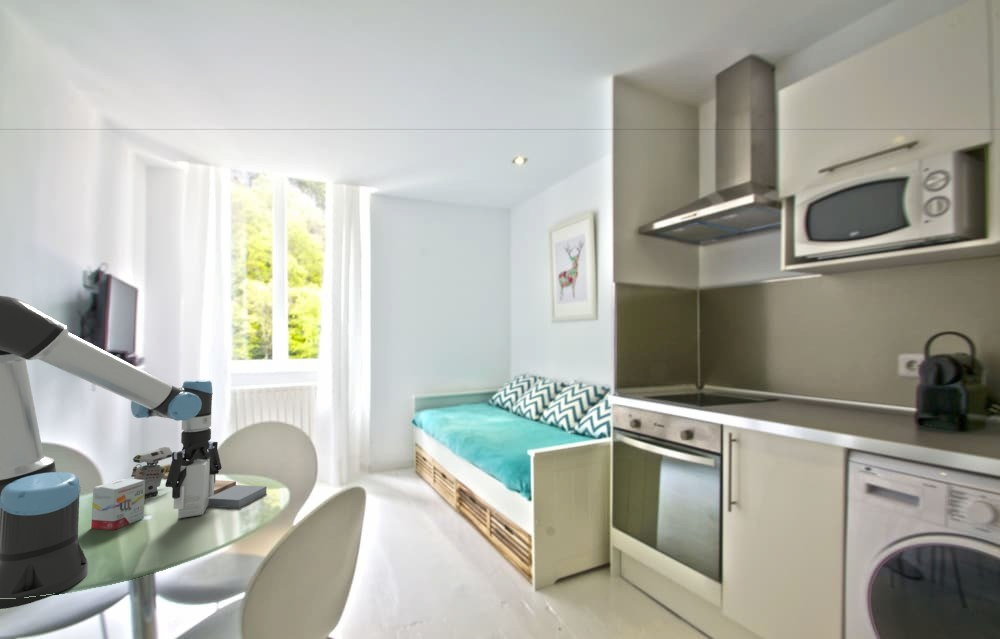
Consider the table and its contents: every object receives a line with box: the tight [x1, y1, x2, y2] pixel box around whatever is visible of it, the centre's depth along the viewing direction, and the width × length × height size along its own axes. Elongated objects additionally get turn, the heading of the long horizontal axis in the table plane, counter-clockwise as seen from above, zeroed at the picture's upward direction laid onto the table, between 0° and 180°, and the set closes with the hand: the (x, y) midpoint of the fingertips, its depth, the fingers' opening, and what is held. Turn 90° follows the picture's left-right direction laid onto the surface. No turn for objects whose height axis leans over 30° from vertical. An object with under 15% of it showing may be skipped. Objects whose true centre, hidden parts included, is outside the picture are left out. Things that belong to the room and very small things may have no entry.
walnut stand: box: [208, 479, 237, 497], centre depth 141 cm, size 10×10×3 cm
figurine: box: [130, 446, 173, 499], centre depth 144 cm, size 9×12×15 cm
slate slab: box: [207, 484, 267, 509], centre depth 136 cm, size 12×12×2 cm
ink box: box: [91, 477, 146, 531], centre depth 120 cm, size 9×9×12 cm
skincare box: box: [177, 459, 210, 519], centre depth 126 cm, size 8×7×16 cm
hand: (194, 501), depth 126 cm, fingers closed on skincare box, 10 cm apart
